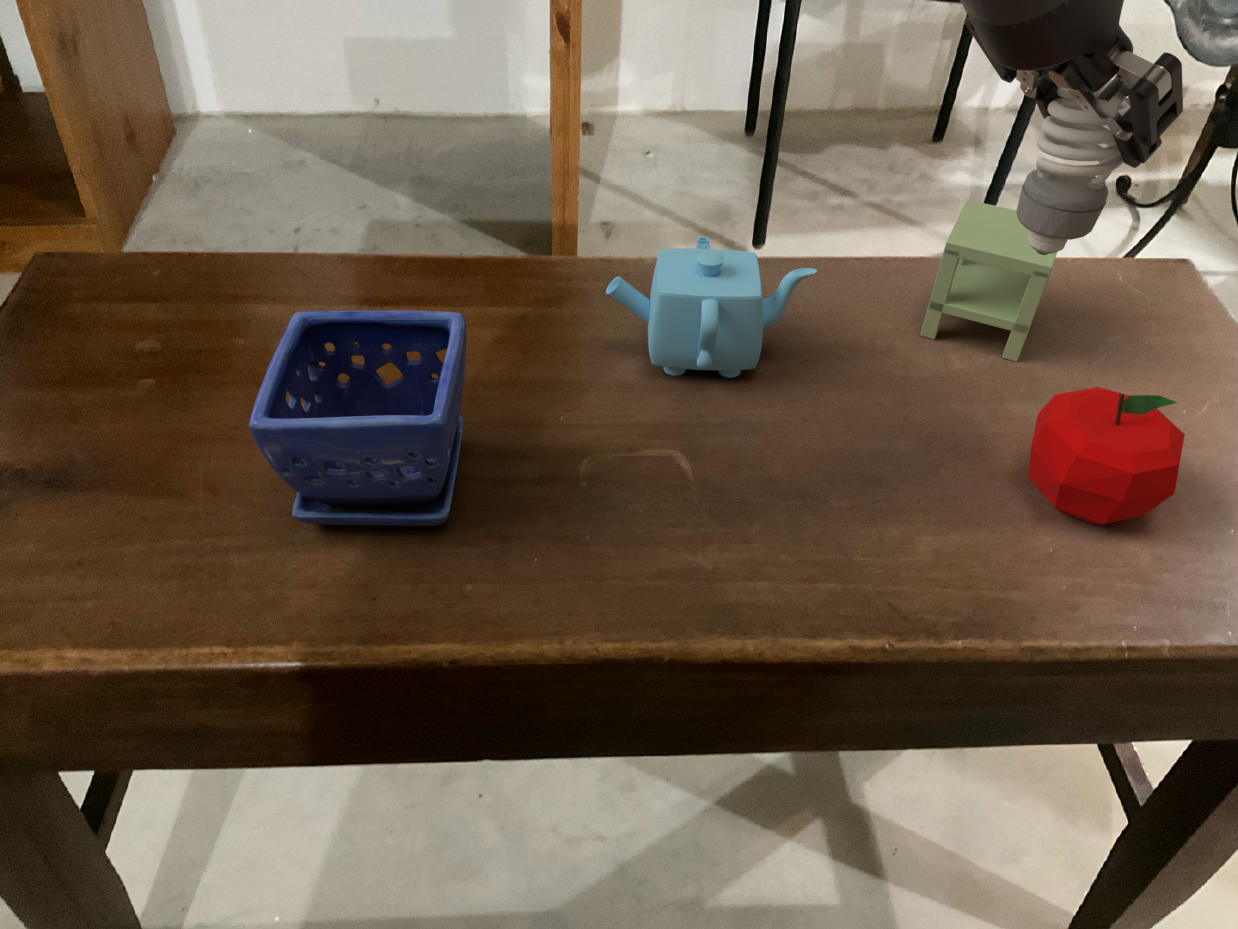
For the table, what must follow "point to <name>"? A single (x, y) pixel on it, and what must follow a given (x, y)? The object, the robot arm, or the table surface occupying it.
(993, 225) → the green side table
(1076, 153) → the light bulb
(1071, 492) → the apple
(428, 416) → the flower pot
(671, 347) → the teapot
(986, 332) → the table surface
